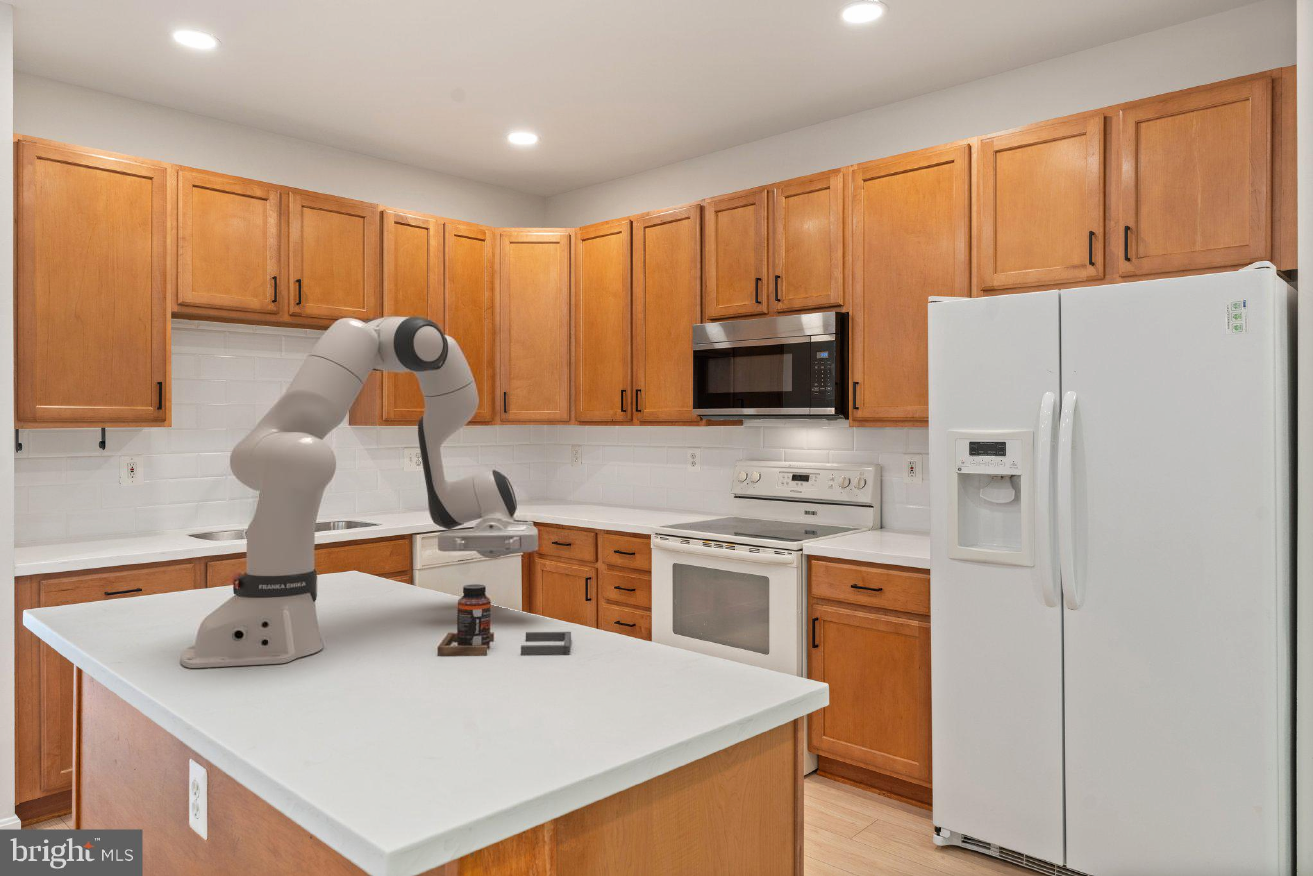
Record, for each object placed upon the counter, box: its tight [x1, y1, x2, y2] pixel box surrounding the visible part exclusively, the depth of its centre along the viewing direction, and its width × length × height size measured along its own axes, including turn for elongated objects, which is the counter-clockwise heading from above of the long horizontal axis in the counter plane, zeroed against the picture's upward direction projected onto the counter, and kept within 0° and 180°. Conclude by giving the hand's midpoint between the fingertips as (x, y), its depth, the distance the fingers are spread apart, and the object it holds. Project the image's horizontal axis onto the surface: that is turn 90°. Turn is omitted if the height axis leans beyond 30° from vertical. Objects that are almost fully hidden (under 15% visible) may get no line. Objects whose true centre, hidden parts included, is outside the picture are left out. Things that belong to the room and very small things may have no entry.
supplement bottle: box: [456, 583, 492, 649], centre depth 154 cm, size 6×6×11 cm
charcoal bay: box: [520, 631, 572, 656], centre depth 155 cm, size 8×11×2 cm
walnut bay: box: [436, 631, 495, 657], centre depth 154 cm, size 8×11×2 cm
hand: (484, 545), depth 166 cm, fingers open, 8 cm apart
